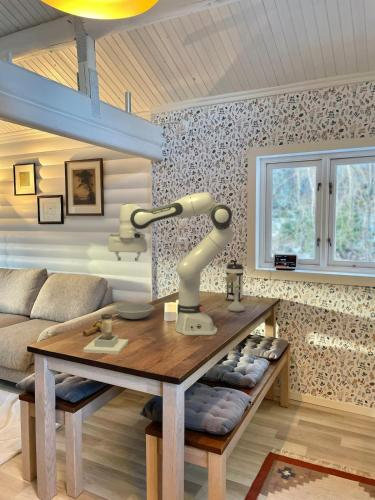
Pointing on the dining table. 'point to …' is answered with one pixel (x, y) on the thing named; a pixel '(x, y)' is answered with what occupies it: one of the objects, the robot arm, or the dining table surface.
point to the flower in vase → (235, 305)
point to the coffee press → (238, 271)
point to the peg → (106, 326)
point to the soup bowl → (134, 310)
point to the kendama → (95, 326)
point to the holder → (106, 345)
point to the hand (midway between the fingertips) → (127, 260)
